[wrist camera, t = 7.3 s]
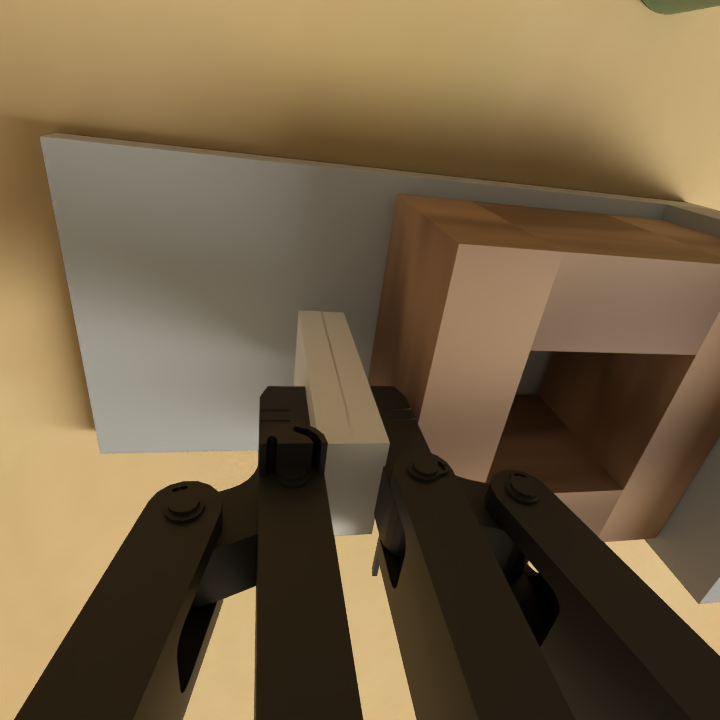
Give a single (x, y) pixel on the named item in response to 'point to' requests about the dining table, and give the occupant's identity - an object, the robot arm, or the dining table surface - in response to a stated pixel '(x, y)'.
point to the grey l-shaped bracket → (270, 291)
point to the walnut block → (557, 350)
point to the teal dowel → (679, 5)
